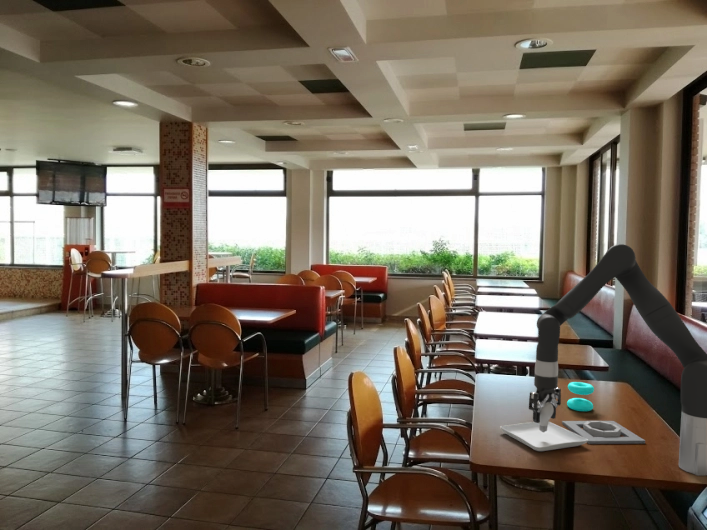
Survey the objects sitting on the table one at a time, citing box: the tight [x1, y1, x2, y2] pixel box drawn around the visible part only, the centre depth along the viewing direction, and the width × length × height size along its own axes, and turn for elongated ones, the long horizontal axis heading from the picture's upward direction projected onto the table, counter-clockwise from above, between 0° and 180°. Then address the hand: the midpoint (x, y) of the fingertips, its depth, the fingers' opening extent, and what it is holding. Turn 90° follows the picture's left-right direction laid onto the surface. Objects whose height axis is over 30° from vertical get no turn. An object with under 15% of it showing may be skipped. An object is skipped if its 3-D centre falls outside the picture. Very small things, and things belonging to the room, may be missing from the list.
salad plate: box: [499, 421, 588, 452], centre depth 191 cm, size 21×21×3 cm
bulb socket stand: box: [561, 420, 646, 445], centre depth 199 cm, size 20×20×2 cm
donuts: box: [566, 381, 595, 412], centre depth 227 cm, size 10×10×10 cm
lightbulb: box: [537, 401, 554, 432], centre depth 191 cm, size 6×6×11 cm
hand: (544, 420), depth 191 cm, fingers open, 8 cm apart
